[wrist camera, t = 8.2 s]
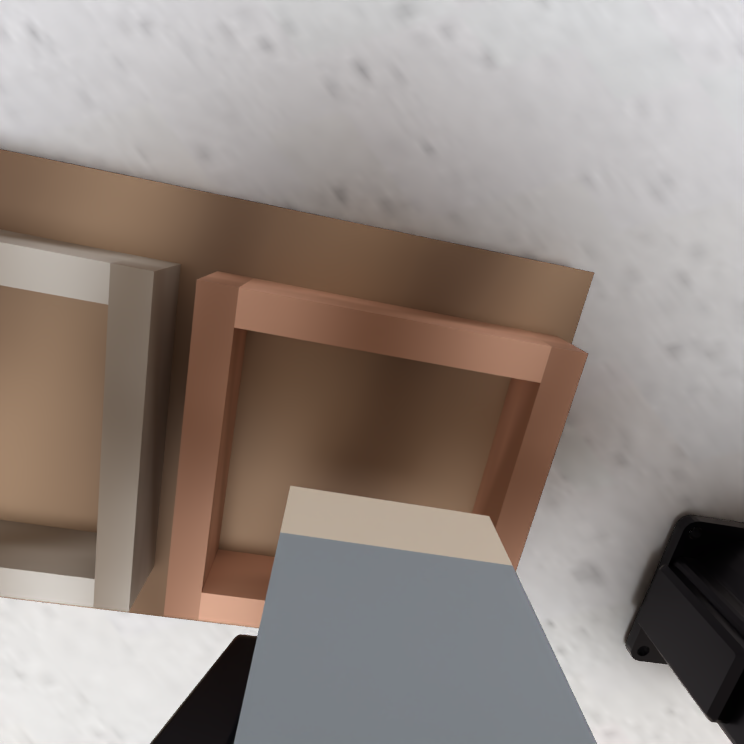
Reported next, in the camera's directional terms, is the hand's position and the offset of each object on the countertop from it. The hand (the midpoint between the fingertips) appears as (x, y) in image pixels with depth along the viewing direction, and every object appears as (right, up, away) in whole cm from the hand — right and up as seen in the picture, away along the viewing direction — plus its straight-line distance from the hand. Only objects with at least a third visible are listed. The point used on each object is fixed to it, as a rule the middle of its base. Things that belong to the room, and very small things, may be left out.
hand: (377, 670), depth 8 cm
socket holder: (-6, +4, +8) cm, 11 cm away
